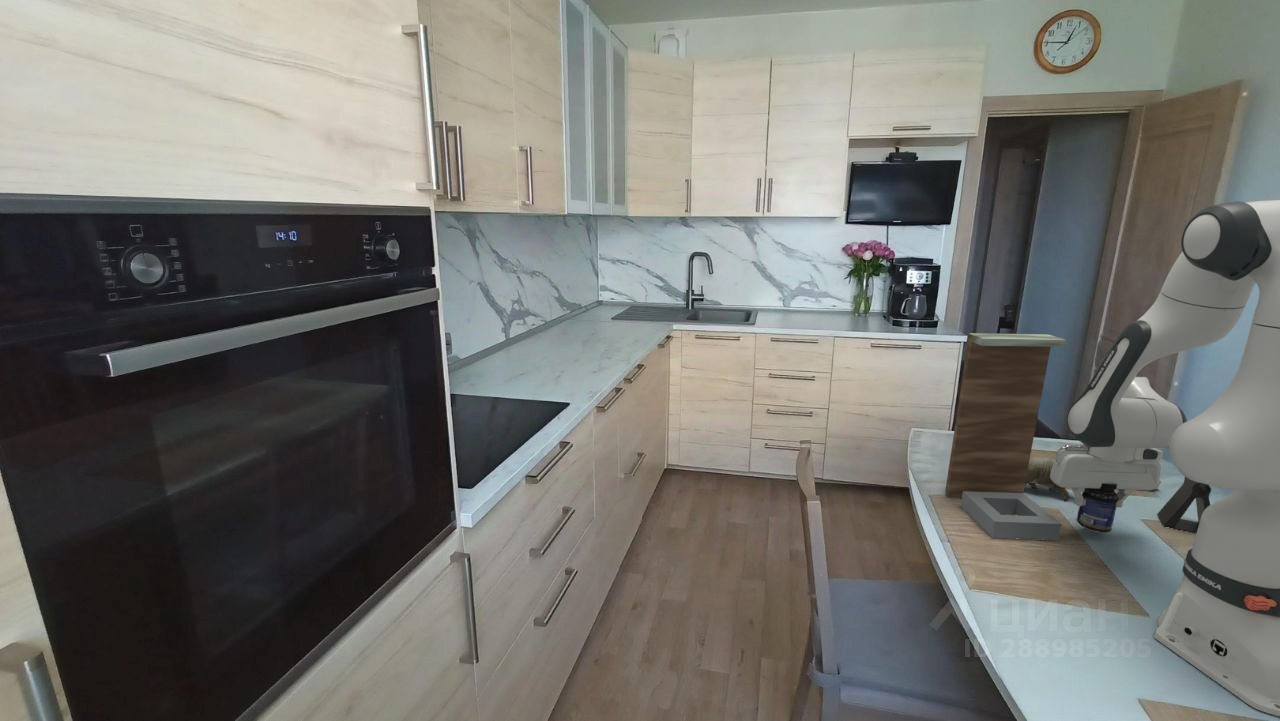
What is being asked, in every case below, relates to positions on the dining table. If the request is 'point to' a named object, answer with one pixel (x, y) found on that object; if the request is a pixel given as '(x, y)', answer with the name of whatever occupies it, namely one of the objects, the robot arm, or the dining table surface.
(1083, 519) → the pill bottle
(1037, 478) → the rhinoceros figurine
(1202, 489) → the phone stand
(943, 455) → the dining table surface
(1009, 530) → the socket block
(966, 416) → the wood grain plank
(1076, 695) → the dining table surface
